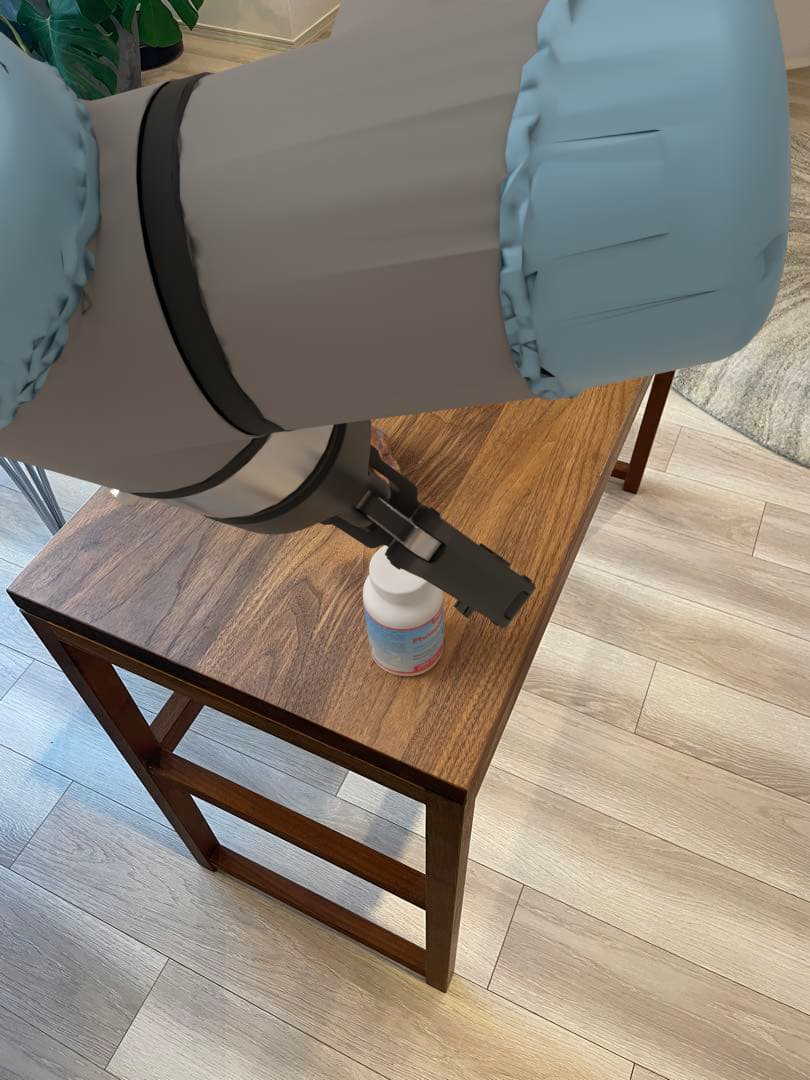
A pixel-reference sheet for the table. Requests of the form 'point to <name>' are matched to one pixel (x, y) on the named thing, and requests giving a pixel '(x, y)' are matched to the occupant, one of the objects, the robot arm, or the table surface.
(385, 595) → the pill bottle
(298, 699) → the table surface
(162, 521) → the table surface
